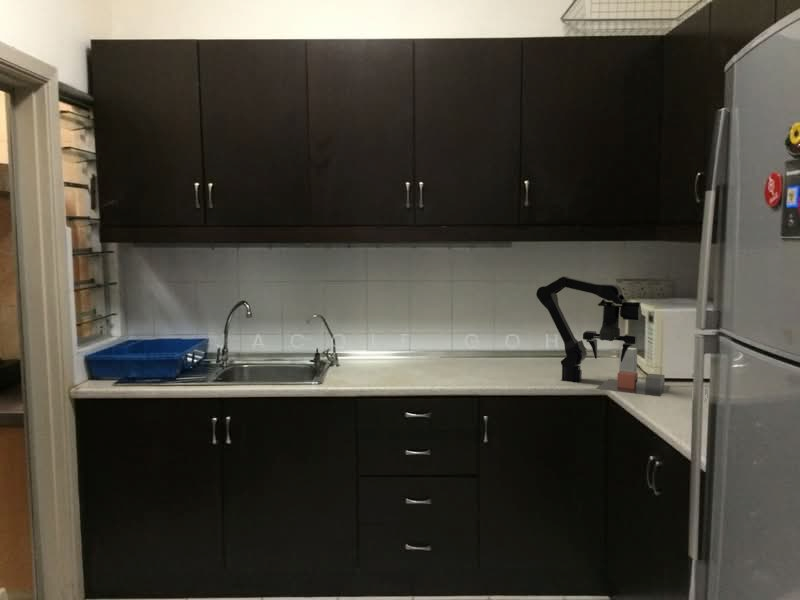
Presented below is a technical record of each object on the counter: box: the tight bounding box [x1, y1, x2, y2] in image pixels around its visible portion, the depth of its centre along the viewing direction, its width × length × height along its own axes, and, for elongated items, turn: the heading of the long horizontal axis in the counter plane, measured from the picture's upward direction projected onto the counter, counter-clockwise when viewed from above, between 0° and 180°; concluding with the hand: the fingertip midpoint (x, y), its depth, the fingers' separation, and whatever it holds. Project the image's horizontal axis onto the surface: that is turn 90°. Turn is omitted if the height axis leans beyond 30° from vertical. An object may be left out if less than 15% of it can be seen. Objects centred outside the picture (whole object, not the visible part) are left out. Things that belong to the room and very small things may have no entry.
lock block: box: [616, 371, 639, 389], centre depth 235 cm, size 6×5×5 cm
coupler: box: [595, 372, 671, 397], centre depth 234 cm, size 22×20×6 cm
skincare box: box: [618, 346, 638, 373], centre depth 253 cm, size 6×4×12 cm
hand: (608, 360), depth 238 cm, fingers open, 9 cm apart
